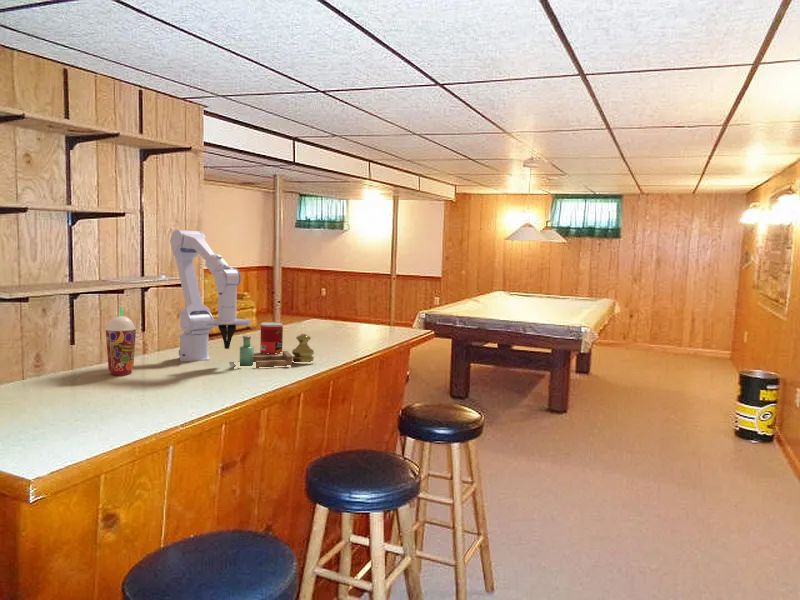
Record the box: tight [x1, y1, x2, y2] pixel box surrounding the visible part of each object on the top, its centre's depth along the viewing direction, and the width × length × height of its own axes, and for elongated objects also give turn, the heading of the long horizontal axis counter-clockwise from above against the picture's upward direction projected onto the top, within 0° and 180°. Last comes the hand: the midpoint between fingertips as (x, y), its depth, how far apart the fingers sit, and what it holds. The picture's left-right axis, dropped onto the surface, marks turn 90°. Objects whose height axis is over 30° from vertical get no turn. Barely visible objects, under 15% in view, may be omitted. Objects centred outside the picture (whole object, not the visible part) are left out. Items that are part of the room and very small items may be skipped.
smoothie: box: [104, 306, 137, 376], centre depth 179 cm, size 8×8×20 cm
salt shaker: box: [291, 333, 315, 362], centre depth 205 cm, size 7×7×10 cm
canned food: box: [259, 321, 284, 355], centre depth 220 cm, size 8×8×11 cm
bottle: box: [239, 335, 255, 366], centre depth 197 cm, size 4×4×10 cm
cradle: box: [228, 350, 293, 370], centre depth 199 cm, size 19×12×4 cm, turn 110°
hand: (226, 348), depth 195 cm, fingers closed
